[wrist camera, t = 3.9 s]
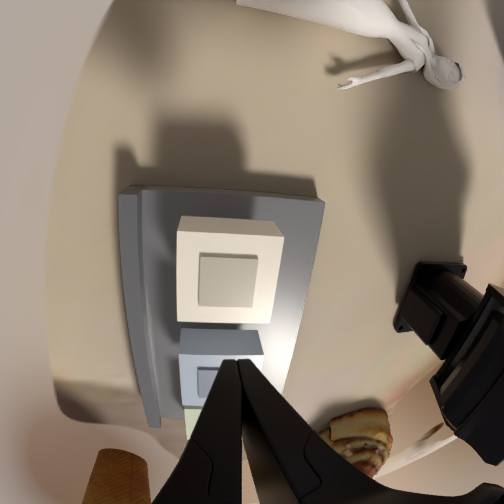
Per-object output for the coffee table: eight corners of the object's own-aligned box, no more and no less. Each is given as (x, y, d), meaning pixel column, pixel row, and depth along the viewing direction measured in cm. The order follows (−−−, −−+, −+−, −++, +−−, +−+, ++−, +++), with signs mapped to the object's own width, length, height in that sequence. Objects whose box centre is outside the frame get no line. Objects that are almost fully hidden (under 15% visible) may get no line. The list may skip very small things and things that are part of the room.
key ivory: (273, 221, 14) (285, 238, 12) (262, 299, 16) (270, 325, 14) (181, 215, 14) (176, 232, 11) (180, 296, 15) (177, 323, 13)
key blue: (257, 329, 17) (264, 357, 15) (249, 380, 18) (254, 407, 16) (180, 328, 16) (178, 356, 14) (183, 379, 18) (182, 407, 16)
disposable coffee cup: (120, 476, 29) (115, 546, 18) (71, 443, 25) (55, 523, 14) (175, 470, 28) (177, 551, 18) (126, 437, 25) (117, 534, 14)
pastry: (388, 392, 27) (420, 445, 20) (382, 444, 34) (401, 483, 26) (275, 435, 27) (290, 497, 20) (297, 475, 33) (310, 519, 26)
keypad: (318, 197, 17) (333, 208, 15) (272, 406, 25) (277, 427, 22) (130, 185, 15) (118, 194, 13) (151, 406, 23) (149, 427, 20)
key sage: (244, 386, 20) (248, 410, 18) (239, 418, 22) (243, 440, 20) (184, 386, 20) (184, 410, 18) (187, 418, 21) (187, 440, 19)
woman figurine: (254, -119, 5) (486, 25, 10) (240, -84, 9) (446, 30, 14) (164, 13, 9) (461, 157, 14) (170, 40, 13) (417, 146, 18)
